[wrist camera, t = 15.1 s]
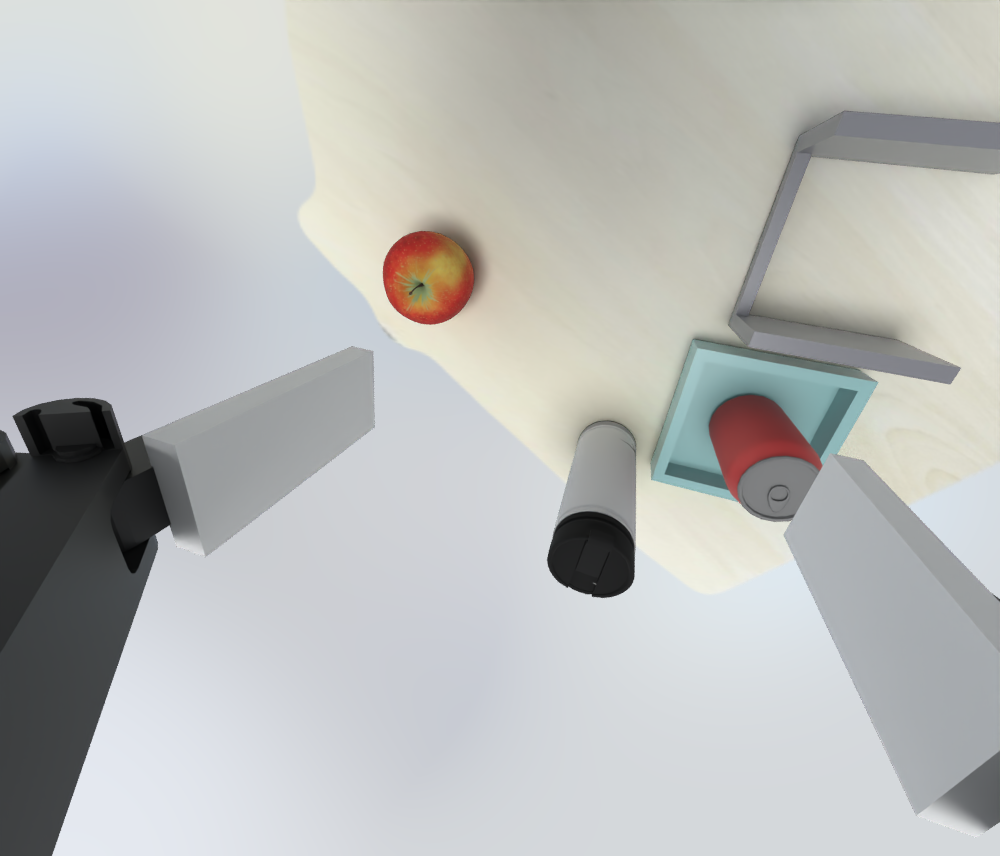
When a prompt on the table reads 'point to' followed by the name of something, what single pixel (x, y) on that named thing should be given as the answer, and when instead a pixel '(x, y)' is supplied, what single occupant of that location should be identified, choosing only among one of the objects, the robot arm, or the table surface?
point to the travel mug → (598, 514)
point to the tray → (738, 372)
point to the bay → (877, 143)
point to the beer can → (763, 457)
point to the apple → (427, 277)
